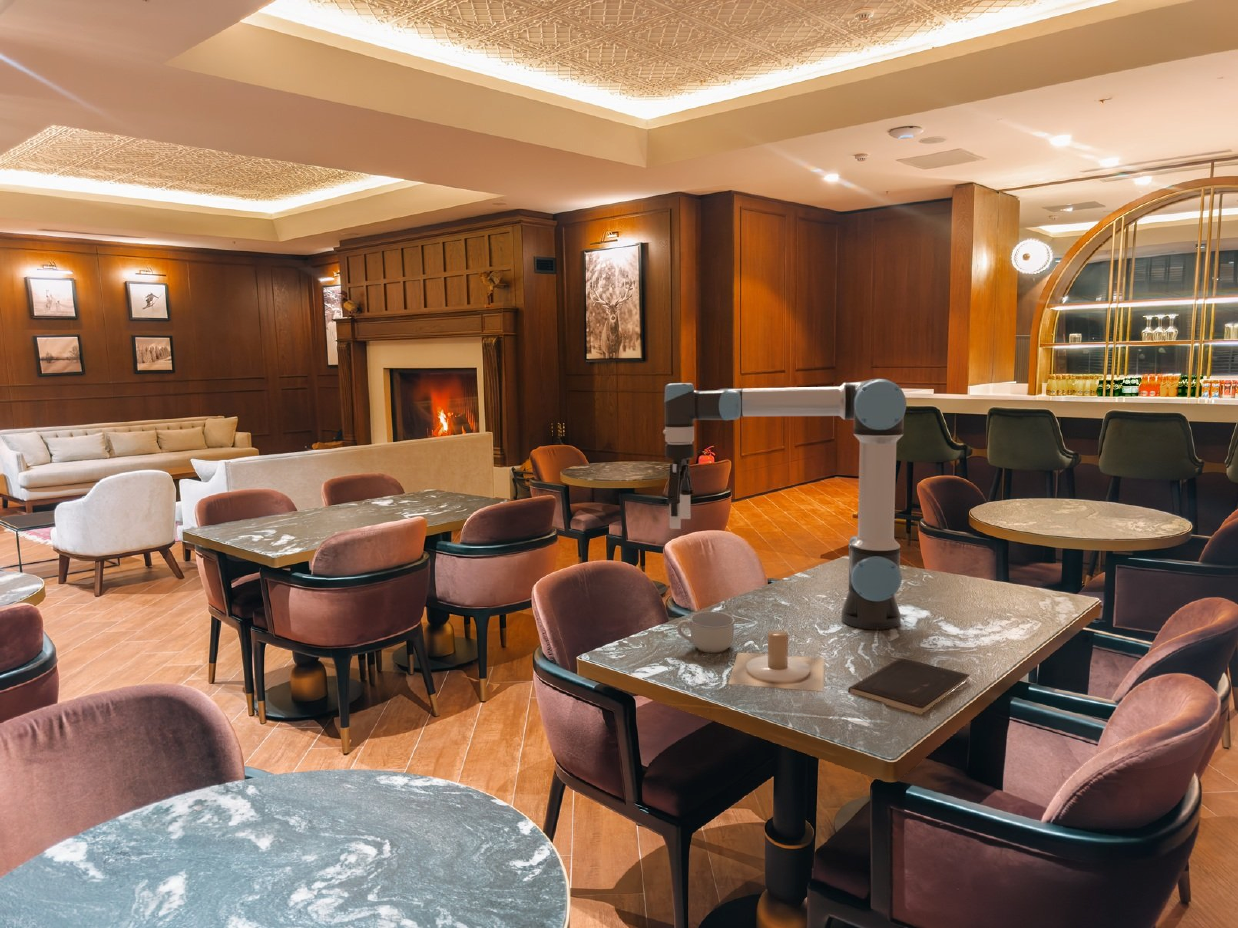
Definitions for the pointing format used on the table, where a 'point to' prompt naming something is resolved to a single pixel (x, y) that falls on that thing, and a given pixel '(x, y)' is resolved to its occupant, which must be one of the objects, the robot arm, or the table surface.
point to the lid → (778, 662)
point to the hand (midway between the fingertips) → (680, 523)
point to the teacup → (709, 631)
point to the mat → (809, 683)
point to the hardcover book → (909, 685)
